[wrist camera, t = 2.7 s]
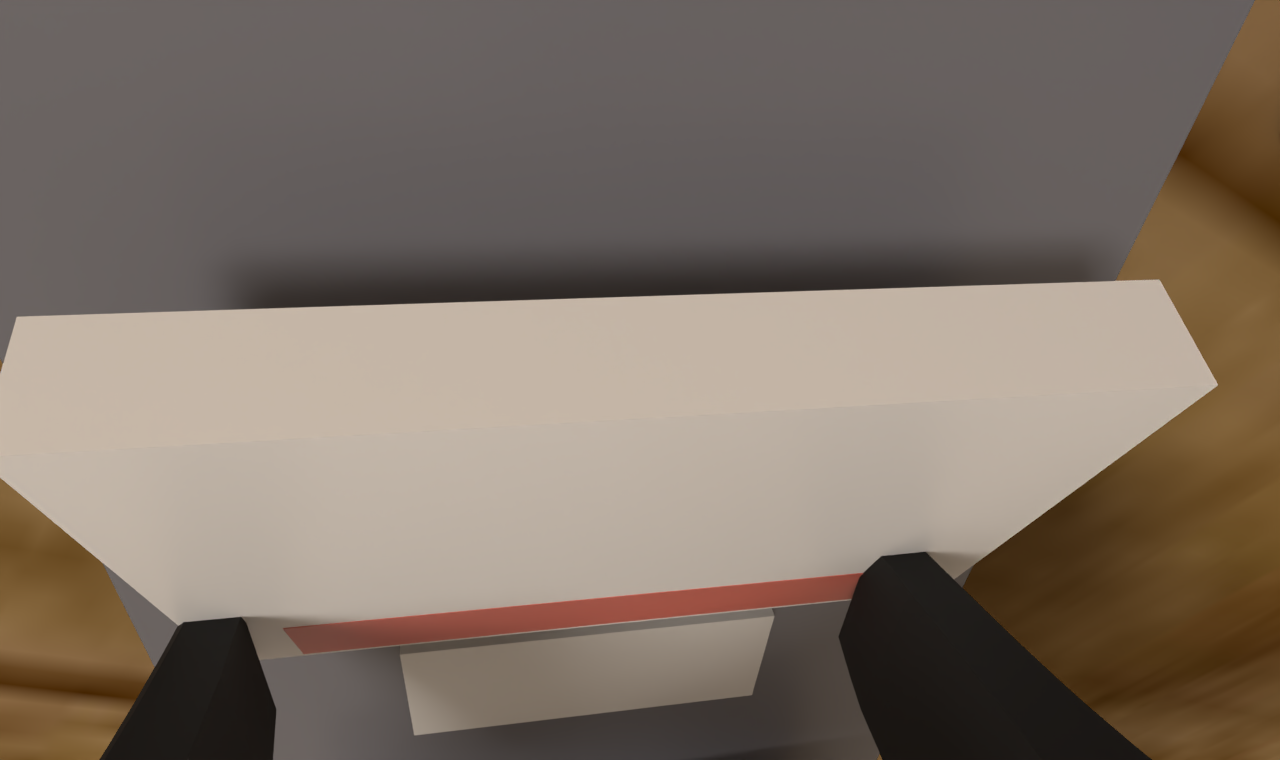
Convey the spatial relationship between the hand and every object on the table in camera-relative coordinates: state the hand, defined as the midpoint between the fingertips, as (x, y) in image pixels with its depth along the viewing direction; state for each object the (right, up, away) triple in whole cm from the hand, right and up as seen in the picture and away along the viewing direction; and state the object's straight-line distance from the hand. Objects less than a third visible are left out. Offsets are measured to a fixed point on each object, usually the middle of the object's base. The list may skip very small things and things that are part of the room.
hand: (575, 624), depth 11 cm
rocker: (+1, +2, -1) cm, 3 cm away
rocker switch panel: (0, 0, +6) cm, 6 cm away
